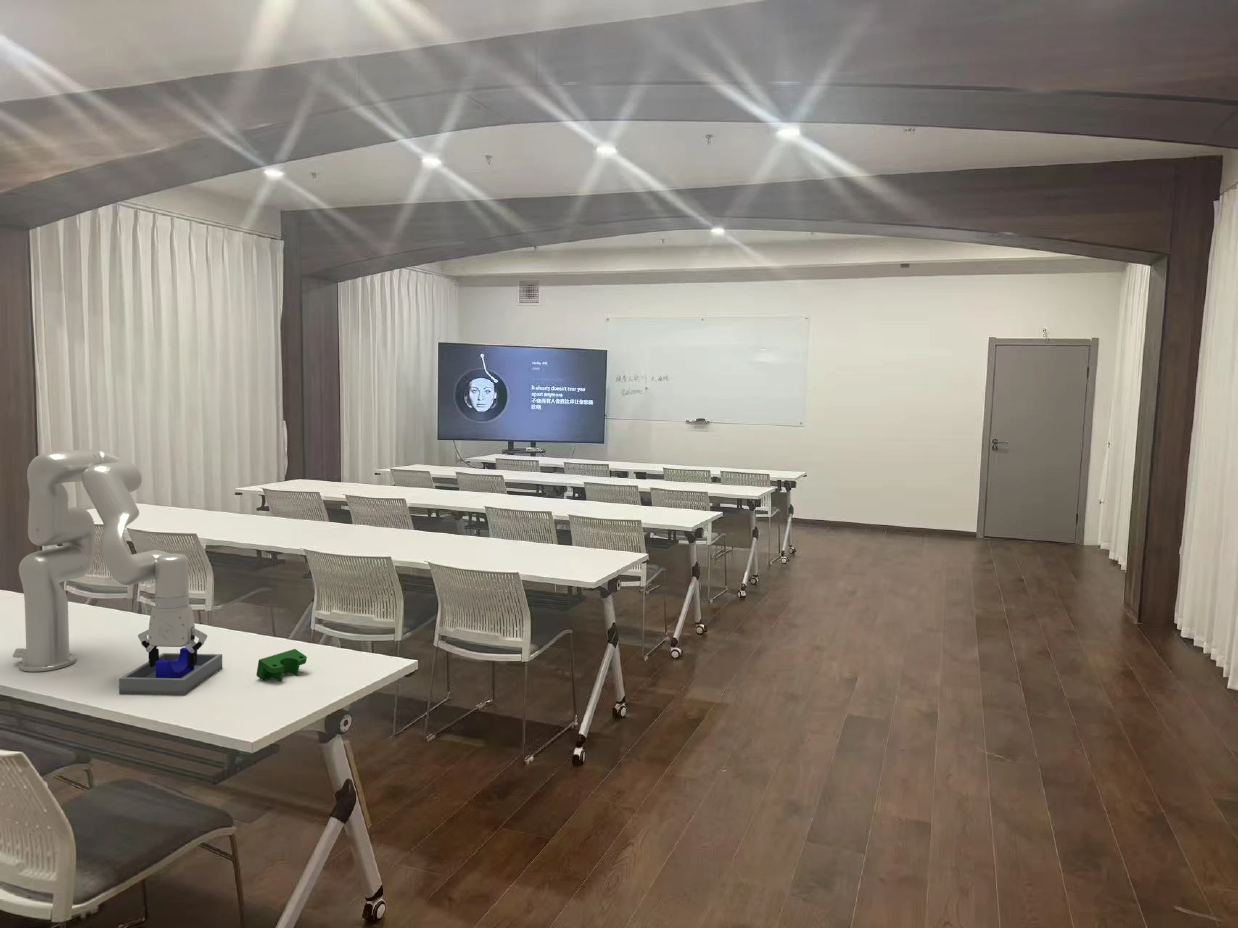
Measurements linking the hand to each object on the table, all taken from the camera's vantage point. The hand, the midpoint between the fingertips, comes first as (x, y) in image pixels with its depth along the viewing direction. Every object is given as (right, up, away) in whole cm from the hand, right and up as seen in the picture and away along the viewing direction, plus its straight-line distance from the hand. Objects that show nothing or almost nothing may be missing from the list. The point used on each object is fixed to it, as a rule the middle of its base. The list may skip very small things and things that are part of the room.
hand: (173, 665), depth 207 cm
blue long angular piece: (0, -3, 0) cm, 3 cm away
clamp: (+26, -5, +6) cm, 27 cm away
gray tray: (0, -4, 0) cm, 4 cm away
